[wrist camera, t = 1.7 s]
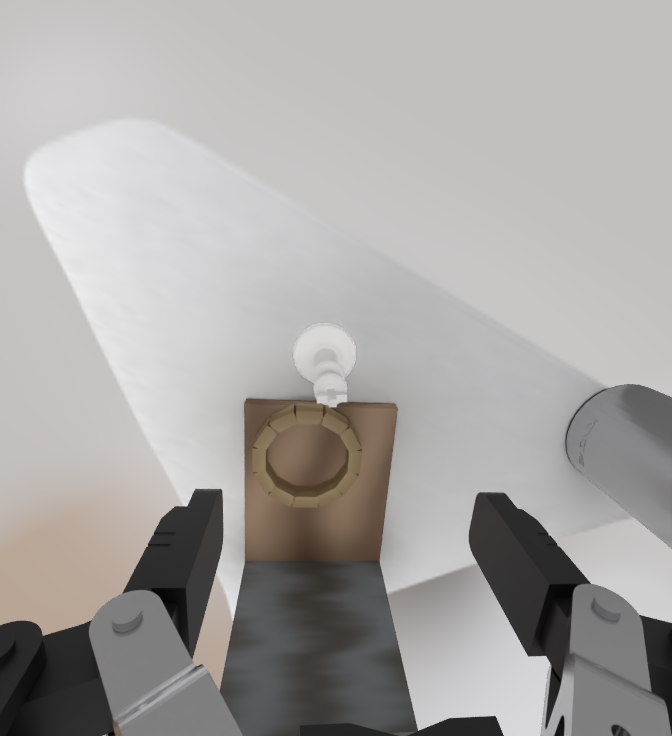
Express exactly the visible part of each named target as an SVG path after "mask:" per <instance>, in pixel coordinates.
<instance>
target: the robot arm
mask: <svg viewBox="0 0 672 736" xmlns="http://www.w3.org/2000/svg"><path fill="white" fill-rule="evenodd" d="M566 444H567V453H568V456H569V459H570V461H571V462H572V464H573V465H574V467H575V468H576V469H577V470H579V471H580V472H581V473H582V474H583V475H584V476H586V477H587V478H588V479H589V480H590V481H592V482H593V483H594V484H595V485H596V486H597V487H599V488H600V489H601V490H602V491H603V492H605V493H606V494H607V495H608V496H609V497H610V498H611V499H613V500H614V501H615V502H616V503H617V504H619V505H620V506H621V507H622V508H623V509H625V510H626V511H627V512H628V513H629V514H631V515H632V516H633V517H634V518H635V519H637V520H638V521H639V522H640V523H641V524H643V525H644V526H645V527H646V528H647V529H649V530H650V531H651V532H652V533H654V534H655V535H656V536H657V537H658V538H660V539H661V540H662V541H663V542H664V543H666V544H667V545H668V546H669V547H671V548H672V397H670V396H667V395H665V394H663V393H660V392H658V391H655V390H653V389H651V388H648V387H645V386H641V385H633V384H627V385H620V386H615V387H612V388H610V389H607V390H605V391H603V392H601V393H599V394H597V395H596V396H594V397H593V398H592V399H591V400H589V401H588V402H587V403H586V404H585V405H584V406H583V407H582V408H581V409H580V410H579V412H578V413H577V414H576V416H575V418H574V419H573V421H572V423H571V425H570V428H569V431H568V435H567V441H566ZM222 544H223V497H222V490H221V489H195V491H194V493H193V495H192V497H191V500H190V502H189V504H188V506H187V507H183V506H181V507H179V506H177V507H174V508H173V509H172V510H171V511H169V512H168V513H167V514H166V515H165V516H164V517H162V519H161V520H160V522H159V525H158V526H157V528H156V530H155V532H154V535H153V536H152V538H151V540H150V541H149V543H148V547H146V549H145V551H144V553H143V555H142V557H141V559H140V561H139V563H138V565H137V566H136V569H135V570H134V572H133V574H132V576H131V578H130V580H129V582H128V584H127V586H126V588H125V589H124V592H123V593H122V594H121V595H119V596H117V597H115V598H113V599H112V600H110V601H109V602H107V603H106V604H105V605H104V606H102V607H101V608H100V610H99V611H98V612H97V613H96V614H95V616H94V618H93V619H92V620H91V621H89V622H87V623H85V624H82V625H79V626H75V627H72V628H68V629H65V630H62V631H58V632H55V633H51V634H48V635H45V636H43V635H42V631H41V629H40V627H39V626H38V625H37V624H35V623H33V622H30V621H15V622H10V623H6V624H3V625H0V736H102V735H105V734H106V736H243V734H242V733H241V731H240V729H239V727H238V725H237V723H236V721H235V720H234V718H233V716H232V714H231V712H230V710H229V708H228V707H227V705H226V703H225V701H224V699H223V697H222V695H221V693H220V692H219V690H218V688H217V686H216V685H215V682H214V680H213V679H212V677H211V675H210V673H209V671H208V670H207V669H206V667H205V666H203V665H199V666H197V667H196V666H195V664H194V663H193V661H192V659H193V655H194V651H195V648H196V644H197V640H198V637H199V633H200V629H201V625H202V622H203V618H204V614H205V611H206V606H207V603H208V599H209V595H210V592H211V588H212V585H213V581H214V577H215V573H216V570H217V566H218V562H219V559H220V555H221V550H222ZM469 544H470V548H471V551H472V554H473V556H474V557H475V559H476V561H477V563H478V565H479V566H480V568H481V570H482V572H483V574H484V576H485V578H486V580H487V581H488V583H489V585H490V587H491V589H492V590H493V592H494V594H495V596H496V598H497V600H498V602H499V603H500V605H501V607H502V609H503V611H504V613H505V615H506V616H507V618H508V620H509V622H510V624H511V626H512V627H513V629H514V631H515V633H516V635H517V637H518V638H519V640H520V642H521V644H522V646H523V648H524V650H525V651H526V653H527V655H528V656H547V658H548V660H549V662H550V663H551V664H550V667H549V670H548V675H547V683H546V692H545V701H544V710H543V718H542V727H541V736H672V623H669V622H665V621H661V620H657V619H653V618H649V617H645V616H641V615H639V614H638V613H637V611H636V610H635V609H634V608H633V607H632V606H631V605H630V604H629V603H628V602H627V601H626V600H625V599H623V598H622V597H621V596H619V595H618V594H616V593H614V592H612V591H610V590H608V589H606V588H604V587H601V586H597V585H593V584H591V583H590V582H589V581H588V580H587V578H586V577H585V576H584V575H583V574H582V572H581V571H580V570H579V569H578V568H577V567H576V565H575V564H574V563H573V562H572V561H571V559H570V558H569V557H568V556H567V555H566V554H565V552H564V551H563V550H562V549H561V548H560V547H558V546H557V543H556V542H555V540H554V539H553V538H552V537H551V536H549V535H548V532H547V531H546V530H545V529H544V527H543V526H542V525H541V524H540V523H539V522H538V520H536V519H535V518H534V517H532V516H531V515H529V514H528V513H527V512H525V511H524V510H522V509H517V507H516V506H515V505H514V504H513V502H512V501H511V500H510V499H509V497H508V496H507V495H506V494H505V493H490V492H480V493H478V495H477V497H476V500H475V505H474V510H473V515H472V520H471V525H470V530H469ZM299 736H397V735H394V734H390V733H386V732H382V731H378V730H375V729H371V728H367V727H363V726H359V725H355V724H352V723H339V724H318V725H300V731H299ZM407 736H504V735H503V733H502V730H501V728H500V726H499V723H498V721H497V718H496V716H489V717H470V718H469V717H468V718H449V719H447V720H444V721H442V722H439V723H437V724H434V725H432V726H429V727H427V728H425V729H422V730H419V731H417V732H415V733H412V734H410V735H407Z"/></svg>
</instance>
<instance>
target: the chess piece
mask: <svg viewBox="0 0 672 736" xmlns="http://www.w3.org/2000/svg"><path fill="white" fill-rule="evenodd" d="M293 360H294V364H295V366H296V368H297V370H298V372H299V373H300V374H301V376H302V377H304V378H305V379H306V380H308V381H309V382H311V383H313V384H314V387H313V392H314V396H315V398H316V399H317V404H319V403H322V404H324V405H327V406H329V407H337V404H339V403H341V402H347V392H348V386H347V383H346V381H345V378H346V377H347V376H348V375H349V374H350V372H351V371H352V369H353V367H354V365H355V361H356V346H355V343H354V340H353V338H352V337H351V335H350V334H349V333H348V332H347V331H346V330H345V329H344V328H342V327H341V326H339V325H336V324H333V323H317V324H314V325H311V326H309V327H307V328H306V329H305V330H303V331H302V332H301V333H300V335H299V336H298V337H297V339H296V341H295V344H294V347H293Z"/></svg>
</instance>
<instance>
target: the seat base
mask: <svg viewBox="0 0 672 736" xmlns="http://www.w3.org/2000/svg"><path fill="white" fill-rule="evenodd" d="M397 411H398V409H397V407H396V405H395V404H378V403H349V402H341V403H339V404H337V407H329V406H327V405H324V404H322V403H319V404H317V401H289V400H259V399H246V401H245V404H244V412H245V565H244V570H243V575H242V580H241V585H240V591H239V596H238V601H237V606H236V611H235V616H234V621H233V626H232V631H231V636H230V641H229V647H228V652H227V657H226V662H225V667H224V673H223V677H222V682H221V688H220V693H221V695H222V697H223V699H224V701H225V703H226V705H227V707H228V708H229V710H230V712H231V714H232V716H233V718H234V720H235V721H236V723H237V725H238V727H239V729H240V731H241V733H242V734H243V736H299V731H300V725H318V724H339V723H352V724H355V725H359V726H363V727H367V728H371V729H375V730H378V731H382V732H386V733H390V734H394V735H397V736H407V735H410V734H412V733H415V732H417V731H418V729H417V724H416V720H415V716H414V711H413V707H412V702H411V698H410V694H409V689H408V685H407V681H406V676H405V672H404V667H403V663H402V659H401V654H400V650H399V645H398V641H397V637H396V632H395V628H394V624H393V619H392V615H391V610H390V606H389V602H388V597H387V593H386V588H385V584H384V580H383V575H382V571H381V567H380V562H379V559H380V551H381V542H382V534H383V526H384V518H385V509H386V501H387V493H388V485H389V476H390V468H391V460H392V452H393V444H394V435H395V427H396V419H397Z"/></svg>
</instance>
